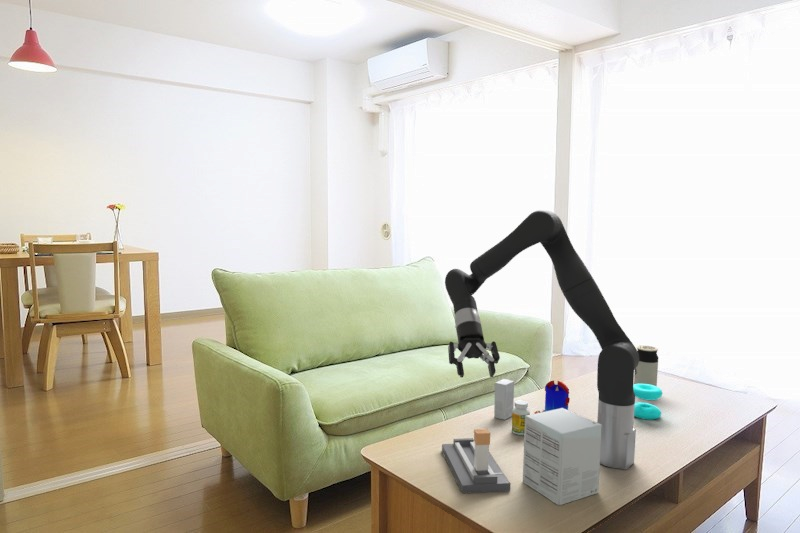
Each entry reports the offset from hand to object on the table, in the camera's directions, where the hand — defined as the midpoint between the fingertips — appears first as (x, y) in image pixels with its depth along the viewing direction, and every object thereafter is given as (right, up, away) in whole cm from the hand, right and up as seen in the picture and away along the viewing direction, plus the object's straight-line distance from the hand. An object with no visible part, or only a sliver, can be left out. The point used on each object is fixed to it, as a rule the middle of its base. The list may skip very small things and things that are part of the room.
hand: (477, 375), depth 151 cm
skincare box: (+13, -20, +31) cm, 40 cm away
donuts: (+62, -21, +34) cm, 74 cm away
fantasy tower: (+32, -20, +34) cm, 50 cm away
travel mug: (+72, -19, +57) cm, 94 cm away
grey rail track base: (-2, -23, -7) cm, 24 cm away
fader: (-1, -22, -14) cm, 26 cm away
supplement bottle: (+16, -21, +18) cm, 32 cm away
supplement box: (+18, -25, -16) cm, 35 cm away
